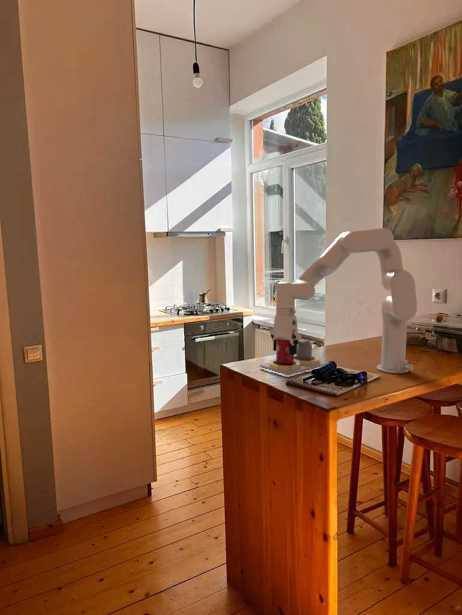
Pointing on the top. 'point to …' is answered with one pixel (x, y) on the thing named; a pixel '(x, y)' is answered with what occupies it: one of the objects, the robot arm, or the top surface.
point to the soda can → (283, 352)
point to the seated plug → (304, 351)
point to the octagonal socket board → (294, 366)
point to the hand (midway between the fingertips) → (284, 352)
